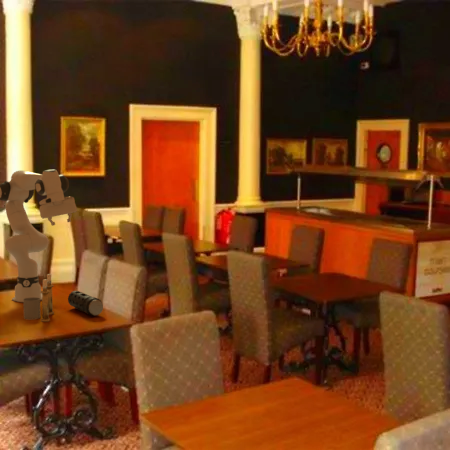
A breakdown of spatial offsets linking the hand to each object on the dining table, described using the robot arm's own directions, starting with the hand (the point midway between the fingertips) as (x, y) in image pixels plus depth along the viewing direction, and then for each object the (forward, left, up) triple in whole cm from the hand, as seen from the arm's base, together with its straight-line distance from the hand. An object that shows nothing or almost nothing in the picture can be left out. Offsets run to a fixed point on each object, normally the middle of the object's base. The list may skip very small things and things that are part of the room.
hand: (61, 223), depth 379 cm
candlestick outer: (+23, -6, -48) cm, 54 cm away
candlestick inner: (+7, -6, -48) cm, 49 cm away
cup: (+15, -14, -48) cm, 53 cm away
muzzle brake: (+6, +13, -49) cm, 50 cm away
